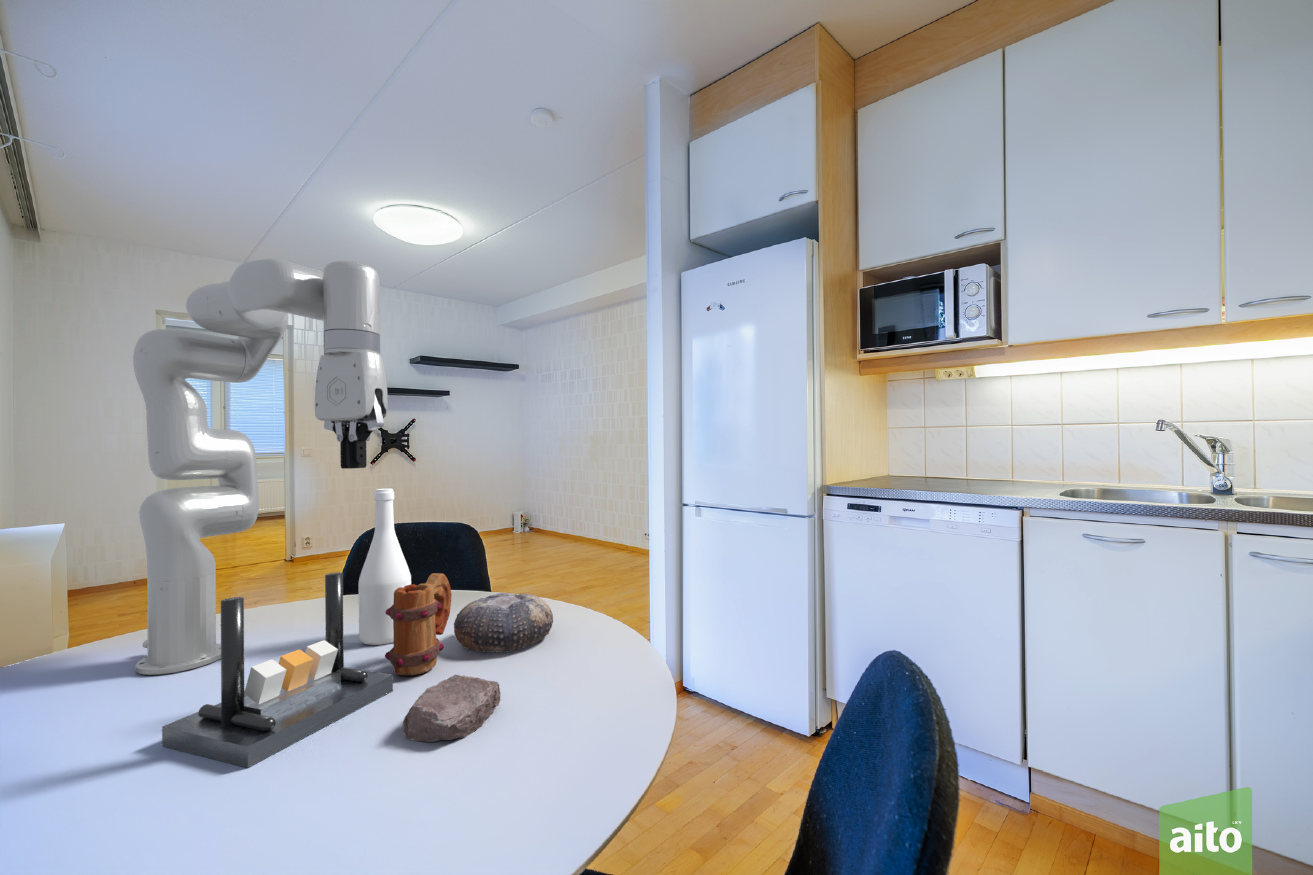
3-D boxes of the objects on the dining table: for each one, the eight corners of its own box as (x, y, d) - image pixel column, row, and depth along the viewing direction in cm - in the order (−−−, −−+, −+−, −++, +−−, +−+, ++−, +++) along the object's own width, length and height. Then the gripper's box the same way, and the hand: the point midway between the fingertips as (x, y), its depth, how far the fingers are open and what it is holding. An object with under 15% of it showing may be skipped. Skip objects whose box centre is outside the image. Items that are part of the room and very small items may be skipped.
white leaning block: (300, 670, 82) (307, 646, 82) (317, 663, 85) (324, 639, 84) (313, 680, 81) (321, 655, 81) (330, 672, 84) (338, 649, 83)
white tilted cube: (243, 693, 75) (251, 666, 74) (264, 684, 77) (272, 659, 77) (258, 704, 74) (266, 677, 73) (279, 695, 76) (286, 669, 76)
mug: (419, 683, 89) (418, 590, 90) (374, 680, 91) (373, 588, 91) (467, 650, 104) (466, 570, 104) (428, 648, 105) (427, 569, 106)
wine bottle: (381, 629, 118) (379, 487, 118) (421, 631, 116) (419, 487, 116) (347, 645, 108) (346, 491, 109) (390, 647, 106) (389, 490, 107)
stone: (455, 750, 70) (454, 713, 70) (396, 741, 72) (395, 705, 72) (506, 708, 81) (506, 675, 81) (454, 701, 83) (453, 670, 84)
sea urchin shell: (545, 654, 100) (534, 599, 100) (443, 674, 100) (432, 620, 100) (563, 620, 119) (554, 574, 119) (478, 637, 119) (468, 591, 119)
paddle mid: (273, 681, 78) (280, 656, 78) (292, 673, 81) (299, 649, 81) (287, 691, 77) (295, 666, 77) (306, 683, 80) (313, 658, 80)
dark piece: (162, 746, 72) (161, 601, 72) (317, 678, 92) (316, 566, 93) (247, 767, 66) (246, 611, 67) (392, 690, 87) (391, 572, 87)
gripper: (293, 346, 83) (294, 469, 83) (369, 338, 78) (371, 469, 77) (337, 354, 90) (338, 467, 90) (410, 346, 85) (411, 466, 85)
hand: (353, 467), depth 84 cm, fingers closed
